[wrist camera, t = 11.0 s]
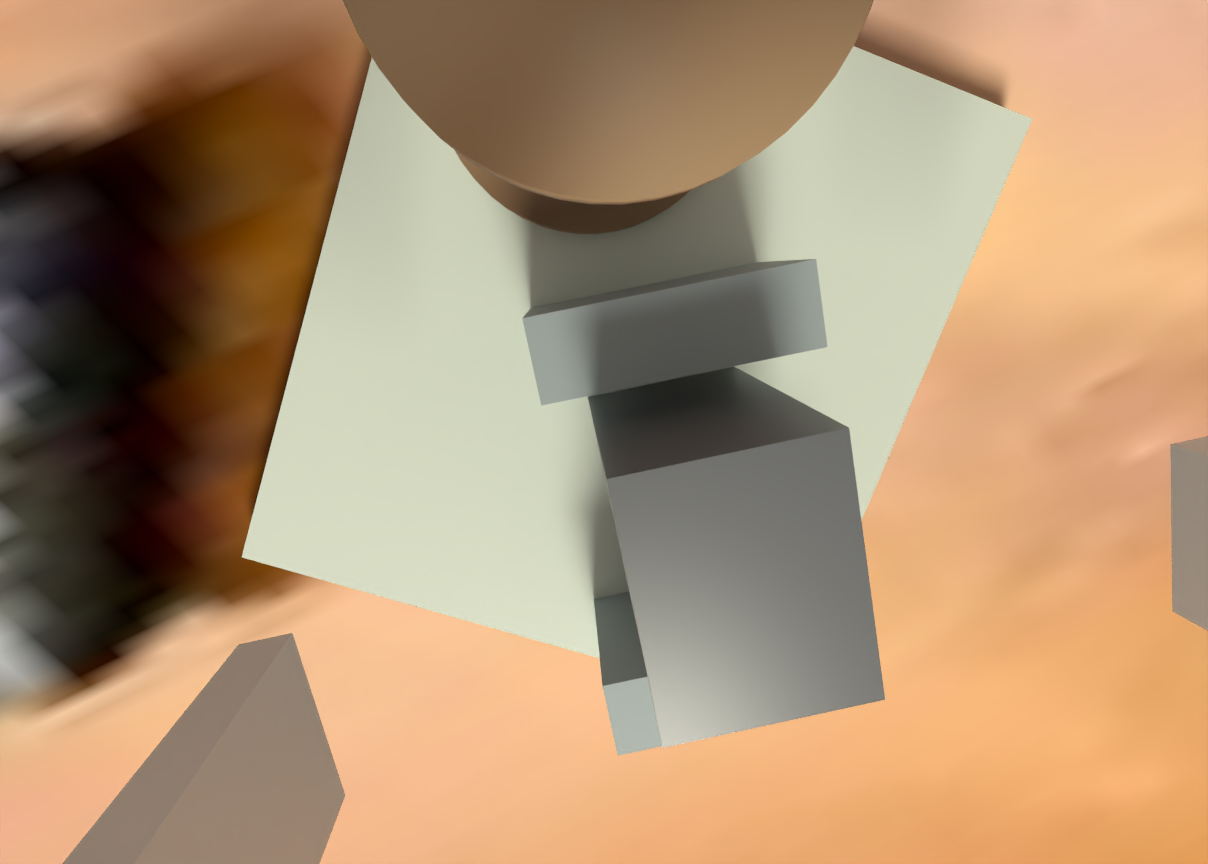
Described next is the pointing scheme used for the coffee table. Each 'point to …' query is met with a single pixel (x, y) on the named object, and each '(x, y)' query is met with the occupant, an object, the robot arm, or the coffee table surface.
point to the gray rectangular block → (739, 552)
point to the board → (575, 270)
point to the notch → (656, 353)
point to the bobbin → (606, 91)
